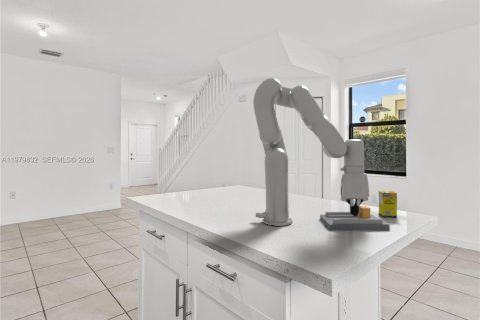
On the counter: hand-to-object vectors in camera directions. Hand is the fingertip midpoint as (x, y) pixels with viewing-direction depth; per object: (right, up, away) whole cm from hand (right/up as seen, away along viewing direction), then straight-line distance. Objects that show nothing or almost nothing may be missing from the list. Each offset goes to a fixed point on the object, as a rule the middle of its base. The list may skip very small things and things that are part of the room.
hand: (354, 215), depth 111 cm
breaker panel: (-1, -4, 0) cm, 4 cm away
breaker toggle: (+4, -1, 0) cm, 4 cm away
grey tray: (-1, -2, 0) cm, 2 cm away
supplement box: (+20, -3, +12) cm, 23 cm away
